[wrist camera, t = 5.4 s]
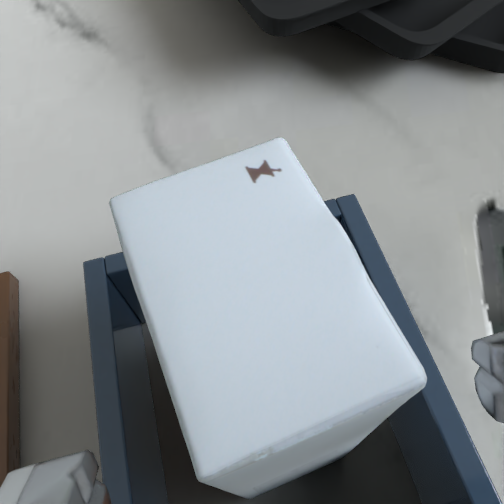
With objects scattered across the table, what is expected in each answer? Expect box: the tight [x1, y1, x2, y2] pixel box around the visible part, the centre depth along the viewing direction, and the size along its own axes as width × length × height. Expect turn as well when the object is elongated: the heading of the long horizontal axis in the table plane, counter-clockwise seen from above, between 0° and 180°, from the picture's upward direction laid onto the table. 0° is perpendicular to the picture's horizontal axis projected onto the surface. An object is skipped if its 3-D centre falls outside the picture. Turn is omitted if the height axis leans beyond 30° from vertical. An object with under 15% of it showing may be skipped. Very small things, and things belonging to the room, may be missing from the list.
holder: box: [83, 194, 502, 504], centre depth 17 cm, size 11×12×5 cm
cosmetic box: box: [109, 137, 427, 499], centre depth 14 cm, size 6×4×12 cm
